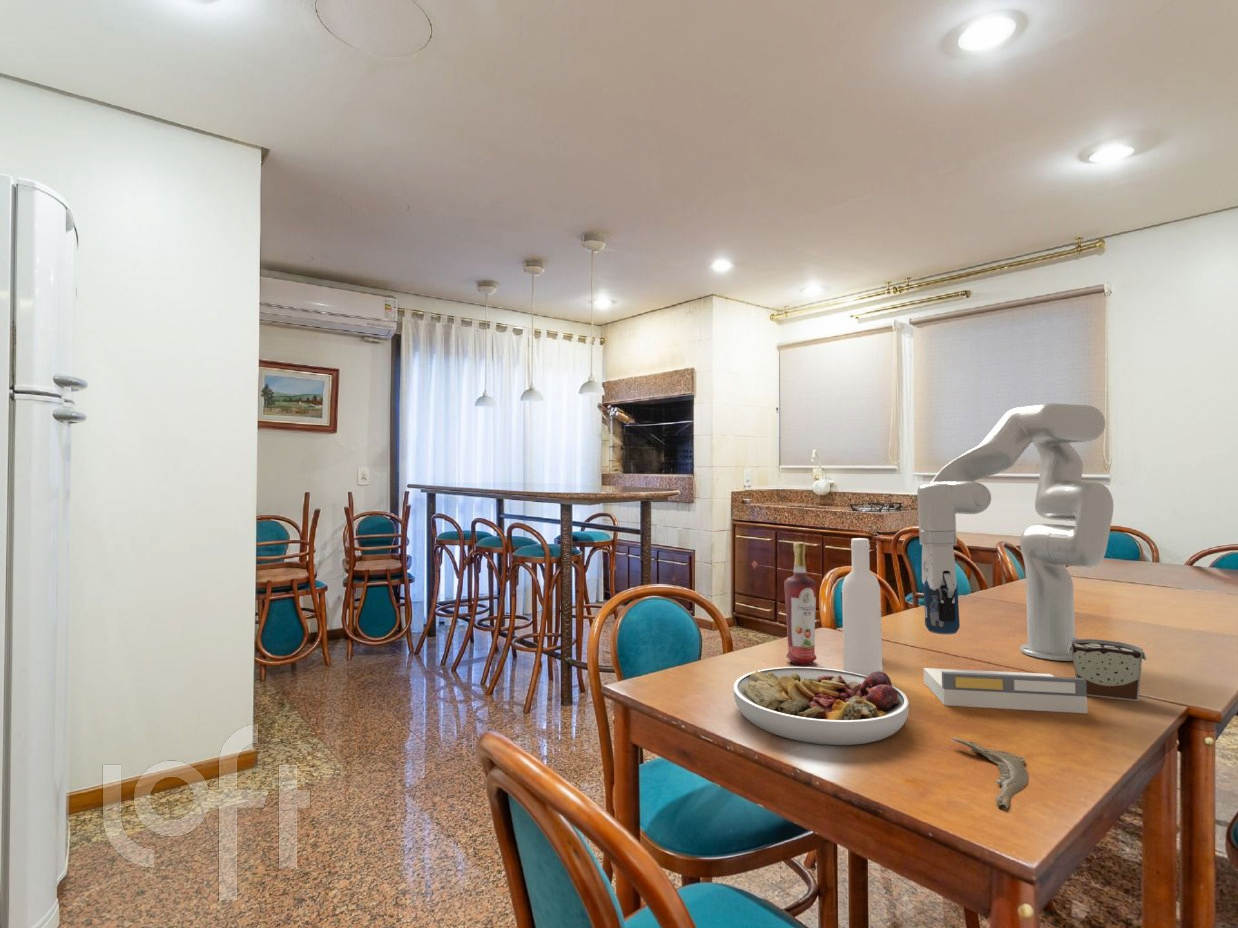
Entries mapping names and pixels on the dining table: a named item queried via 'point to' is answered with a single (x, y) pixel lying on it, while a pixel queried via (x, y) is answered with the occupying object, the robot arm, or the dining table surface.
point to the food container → (1108, 667)
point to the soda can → (933, 613)
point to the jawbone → (1003, 771)
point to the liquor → (800, 611)
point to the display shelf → (1007, 690)
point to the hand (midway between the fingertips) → (941, 616)
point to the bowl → (822, 704)
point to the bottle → (861, 614)
